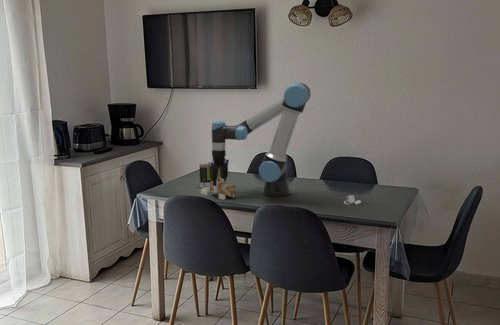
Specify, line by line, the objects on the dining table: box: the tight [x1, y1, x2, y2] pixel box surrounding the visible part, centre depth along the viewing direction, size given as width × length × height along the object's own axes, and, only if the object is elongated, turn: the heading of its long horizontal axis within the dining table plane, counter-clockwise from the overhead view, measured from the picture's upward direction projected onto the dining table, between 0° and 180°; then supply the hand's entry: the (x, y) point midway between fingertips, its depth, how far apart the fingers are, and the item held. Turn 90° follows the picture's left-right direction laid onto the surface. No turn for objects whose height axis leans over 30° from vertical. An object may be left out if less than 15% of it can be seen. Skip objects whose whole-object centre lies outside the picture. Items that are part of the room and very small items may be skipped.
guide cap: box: [218, 193, 236, 201], centre depth 273 cm, size 4×8×2 cm, turn 137°
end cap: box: [199, 187, 219, 196], centre depth 283 cm, size 6×8×2 cm
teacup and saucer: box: [343, 194, 362, 205], centre depth 262 cm, size 9×8×4 cm
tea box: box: [199, 161, 228, 189], centre depth 298 cm, size 15×10×15 cm, turn 84°
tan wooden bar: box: [210, 181, 237, 197], centre depth 275 cm, size 16×4×5 cm, turn 49°
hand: (219, 190), depth 277 cm, fingers closed on tan wooden bar, 4 cm apart
